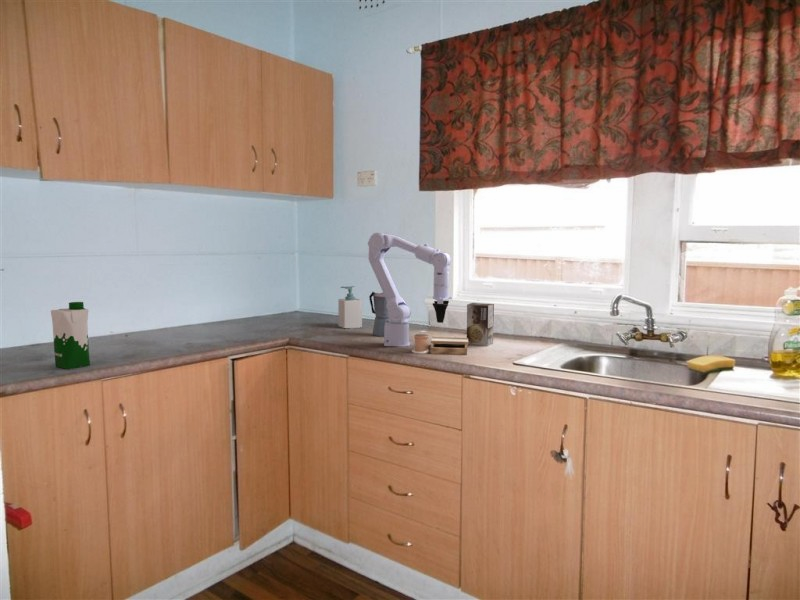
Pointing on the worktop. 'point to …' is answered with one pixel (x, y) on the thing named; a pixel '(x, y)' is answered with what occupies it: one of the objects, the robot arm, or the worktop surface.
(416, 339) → the pot
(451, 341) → the lid
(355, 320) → the soap bottle
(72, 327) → the milk carton
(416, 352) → the saucer
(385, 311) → the moka pot
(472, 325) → the coffee box
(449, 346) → the cold frame
